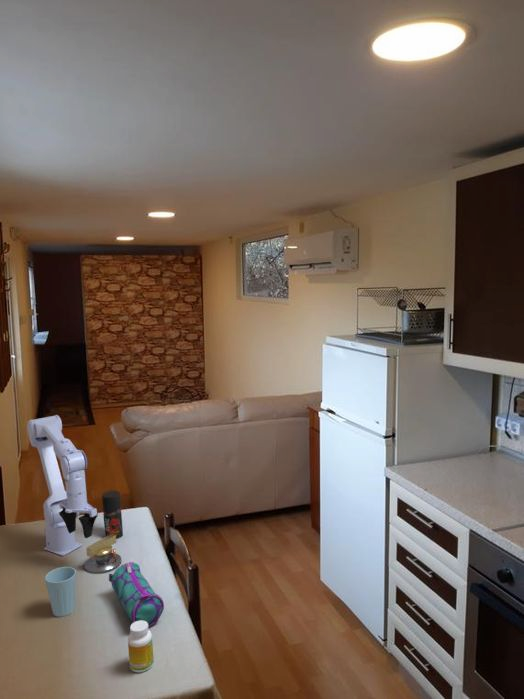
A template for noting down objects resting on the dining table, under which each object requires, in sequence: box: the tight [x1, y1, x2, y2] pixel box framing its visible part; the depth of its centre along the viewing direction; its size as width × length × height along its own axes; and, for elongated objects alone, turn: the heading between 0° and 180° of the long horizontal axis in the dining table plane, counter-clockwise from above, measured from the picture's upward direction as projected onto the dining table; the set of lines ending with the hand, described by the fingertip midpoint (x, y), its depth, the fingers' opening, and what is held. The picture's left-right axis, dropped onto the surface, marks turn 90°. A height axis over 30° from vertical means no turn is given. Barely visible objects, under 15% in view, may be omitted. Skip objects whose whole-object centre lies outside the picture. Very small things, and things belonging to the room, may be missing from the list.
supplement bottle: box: [127, 620, 154, 673], centre depth 125 cm, size 5×5×10 cm
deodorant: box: [101, 490, 124, 540], centre depth 187 cm, size 6×6×15 cm
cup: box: [44, 566, 77, 618], centre depth 146 cm, size 8×8×10 cm
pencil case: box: [108, 561, 165, 629], centre depth 146 cm, size 21×9×10 cm, turn 31°
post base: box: [83, 548, 122, 575], centre depth 170 cm, size 11×11×5 cm
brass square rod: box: [86, 534, 117, 558], centre depth 169 cm, size 6×10×4 cm, turn 149°
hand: (80, 534), depth 168 cm, fingers open, 7 cm apart
